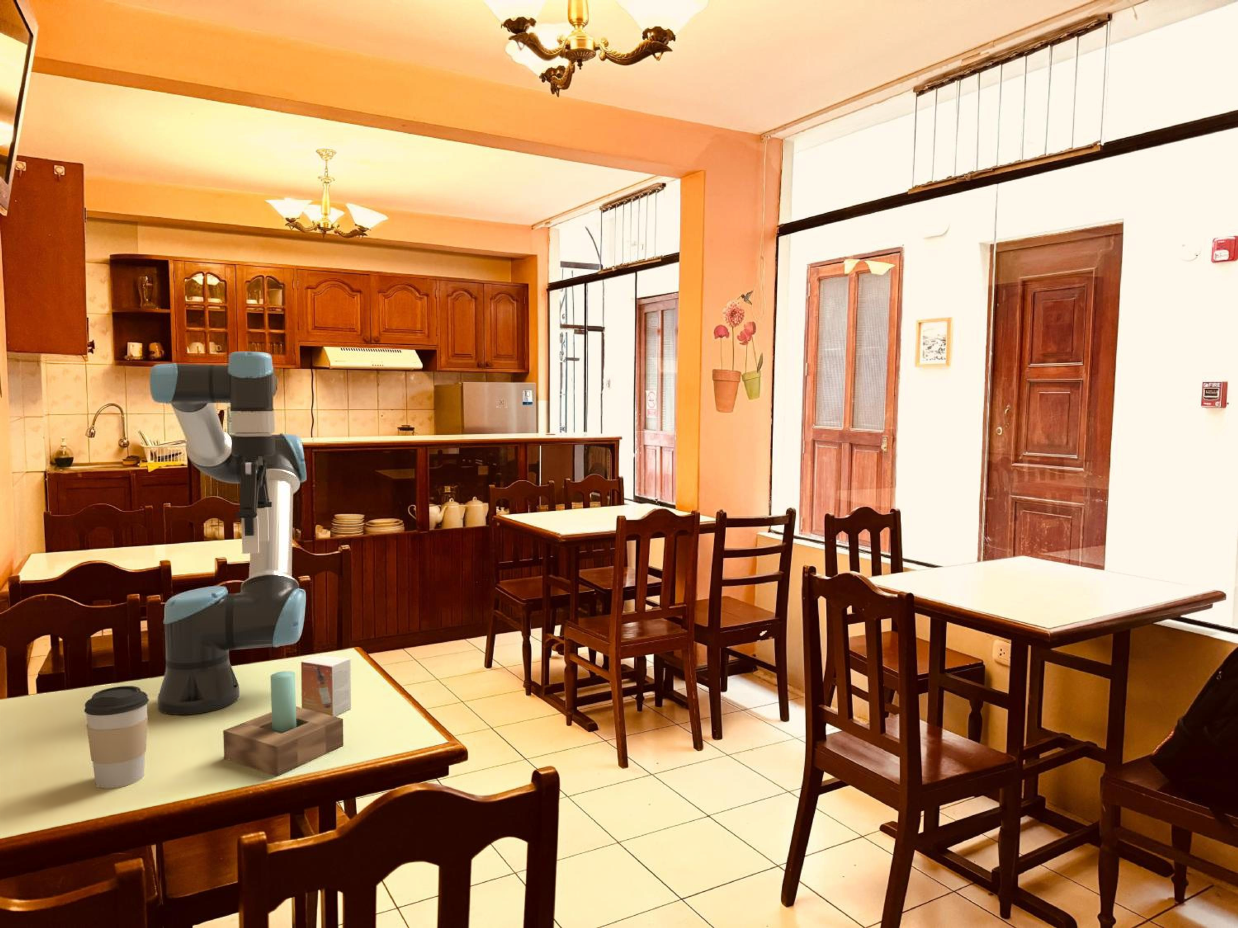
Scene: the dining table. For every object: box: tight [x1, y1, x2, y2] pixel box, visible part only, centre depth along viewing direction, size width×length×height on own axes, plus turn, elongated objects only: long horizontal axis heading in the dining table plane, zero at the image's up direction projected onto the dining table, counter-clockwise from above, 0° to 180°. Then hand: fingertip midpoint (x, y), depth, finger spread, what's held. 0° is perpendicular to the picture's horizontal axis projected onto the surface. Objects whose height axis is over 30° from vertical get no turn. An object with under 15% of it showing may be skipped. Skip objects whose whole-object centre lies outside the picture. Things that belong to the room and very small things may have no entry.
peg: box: [270, 670, 297, 734], centre depth 146 cm, size 4×4×14 cm
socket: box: [222, 706, 344, 777], centre depth 147 cm, size 14×14×5 cm
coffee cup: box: [83, 685, 150, 789], centre depth 136 cm, size 9×9×15 cm
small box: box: [300, 654, 352, 717], centre depth 166 cm, size 8×6×10 cm
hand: (256, 547), depth 156 cm, fingers open, 13 cm apart
